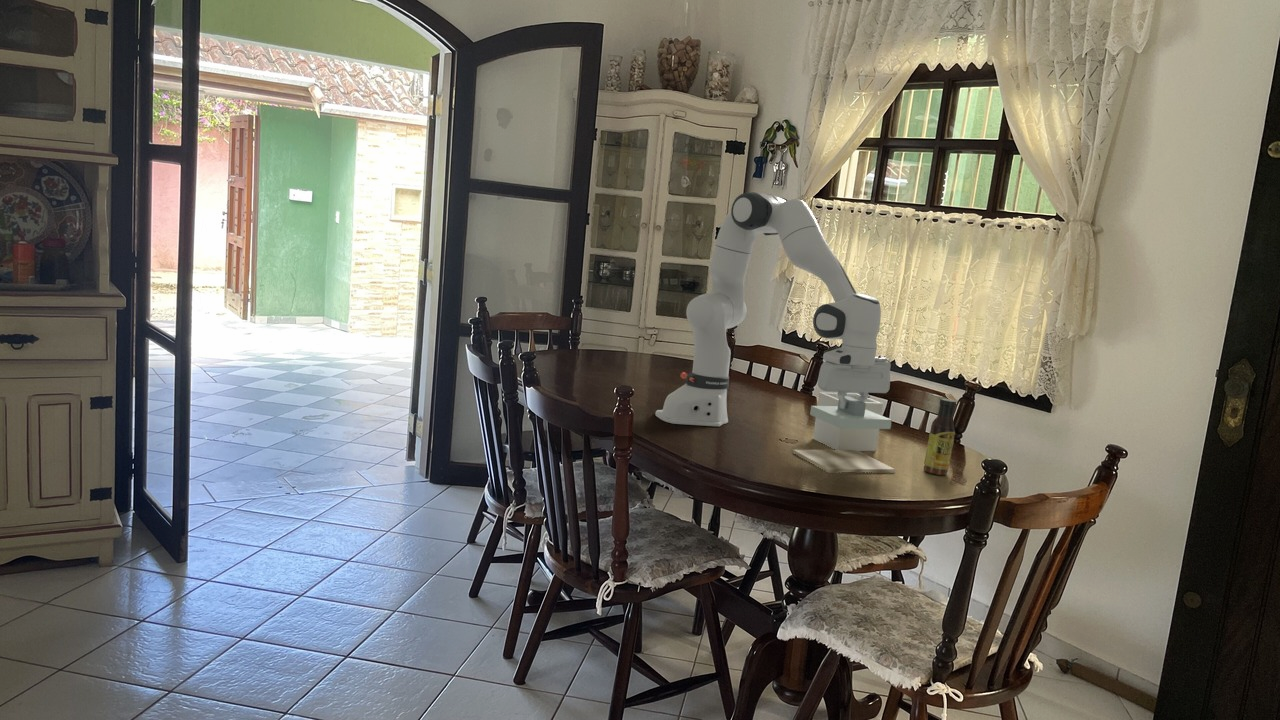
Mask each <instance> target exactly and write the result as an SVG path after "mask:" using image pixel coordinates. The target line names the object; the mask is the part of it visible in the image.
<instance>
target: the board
mask: <svg viewBox="0 0 1280 720" xmlns="http://www.w3.org/2000/svg"><path fill="white" fill-rule="evenodd" d="M792 454H794V455H795V454H796V455H795V456H797V455H798V456H797V457H799V458H801V459H802V458H803V459H802V460H804V459H805V460H804V461H806V460H807V461H806V462H808V461H809V462H810V464H811V463H812V465H813V464H814V465H813V466H815V467H816V468H818V467H819V468H818V469H820V468H821V469H820V470H822V469H823V470H822V471H824V470H825V471H826V473H827V472H828V473H827V474H842V473H841V472H861V473H860V474H863V473H862V472H865V473H864V474H895V472H896V469H895V468H893V467H892V466H890V465H887V464H885V463H884V462H882V461H879V460H878V459H875V458H873V457H871V456H869V455H867V454H865V453H863V452H862V451H857V450H834V449H793V451H792ZM809 462H808V463H809ZM825 471H824V472H825ZM839 472H840V473H839ZM866 472H868V473H866ZM869 472H870V473H869ZM871 472H872V473H871Z"/></svg>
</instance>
